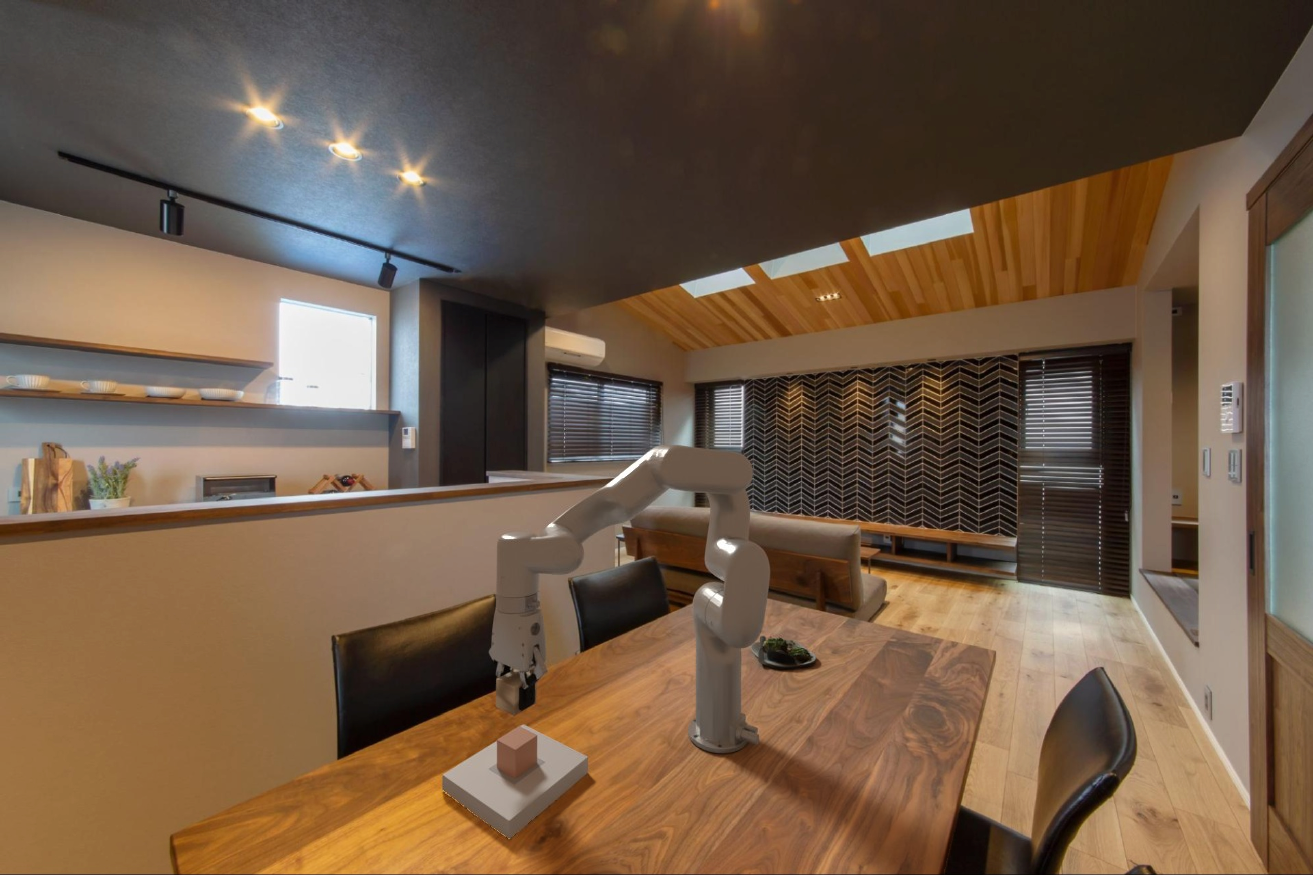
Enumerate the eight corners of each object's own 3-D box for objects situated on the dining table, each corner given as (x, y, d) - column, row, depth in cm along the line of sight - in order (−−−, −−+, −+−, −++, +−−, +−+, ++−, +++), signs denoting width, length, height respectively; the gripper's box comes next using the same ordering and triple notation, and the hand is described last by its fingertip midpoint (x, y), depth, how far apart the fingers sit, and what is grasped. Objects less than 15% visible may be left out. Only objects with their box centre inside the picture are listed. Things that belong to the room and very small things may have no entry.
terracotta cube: (537, 762, 86) (537, 734, 87) (515, 778, 82) (515, 749, 82) (518, 752, 89) (519, 725, 89) (496, 767, 85) (497, 739, 85)
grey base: (587, 772, 88) (587, 756, 88) (509, 839, 73) (509, 820, 73) (523, 738, 98) (523, 723, 98) (442, 791, 83) (442, 774, 83)
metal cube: (536, 702, 86) (536, 675, 86) (514, 715, 82) (514, 687, 82) (518, 694, 89) (518, 668, 89) (495, 706, 85) (496, 678, 85)
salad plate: (737, 644, 145) (737, 629, 145) (790, 639, 149) (790, 624, 149) (764, 674, 126) (764, 657, 126) (824, 668, 130) (824, 651, 130)
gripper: (566, 605, 84) (564, 707, 84) (504, 587, 94) (503, 679, 94) (533, 617, 78) (532, 728, 78) (471, 597, 88) (469, 696, 87)
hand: (516, 700), depth 86 cm, fingers closed on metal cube, 5 cm apart
